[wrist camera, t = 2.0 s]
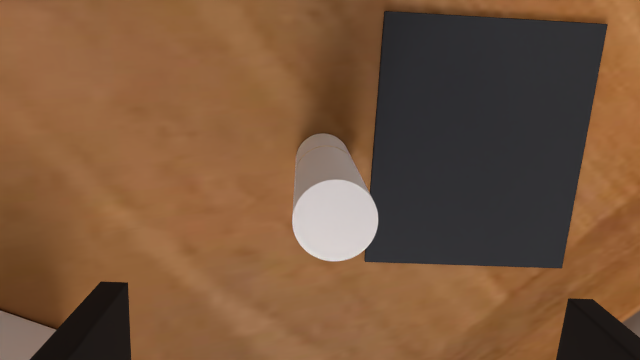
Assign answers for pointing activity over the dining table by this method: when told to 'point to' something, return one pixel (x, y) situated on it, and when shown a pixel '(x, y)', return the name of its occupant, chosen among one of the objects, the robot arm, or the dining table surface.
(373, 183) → the charcoal mat
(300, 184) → the tube
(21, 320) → the medicine bottle
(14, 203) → the dining table surface
